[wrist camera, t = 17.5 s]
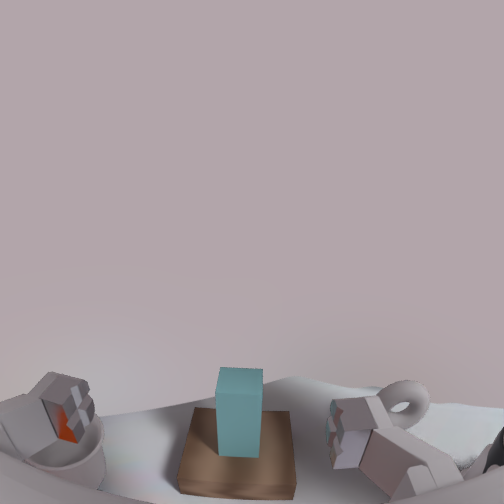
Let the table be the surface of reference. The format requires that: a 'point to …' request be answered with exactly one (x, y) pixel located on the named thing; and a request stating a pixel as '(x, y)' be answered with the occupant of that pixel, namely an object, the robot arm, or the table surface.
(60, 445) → the teacup
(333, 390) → the table surface
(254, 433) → the teal block
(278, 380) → the table surface
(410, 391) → the donut
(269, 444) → the oak base
